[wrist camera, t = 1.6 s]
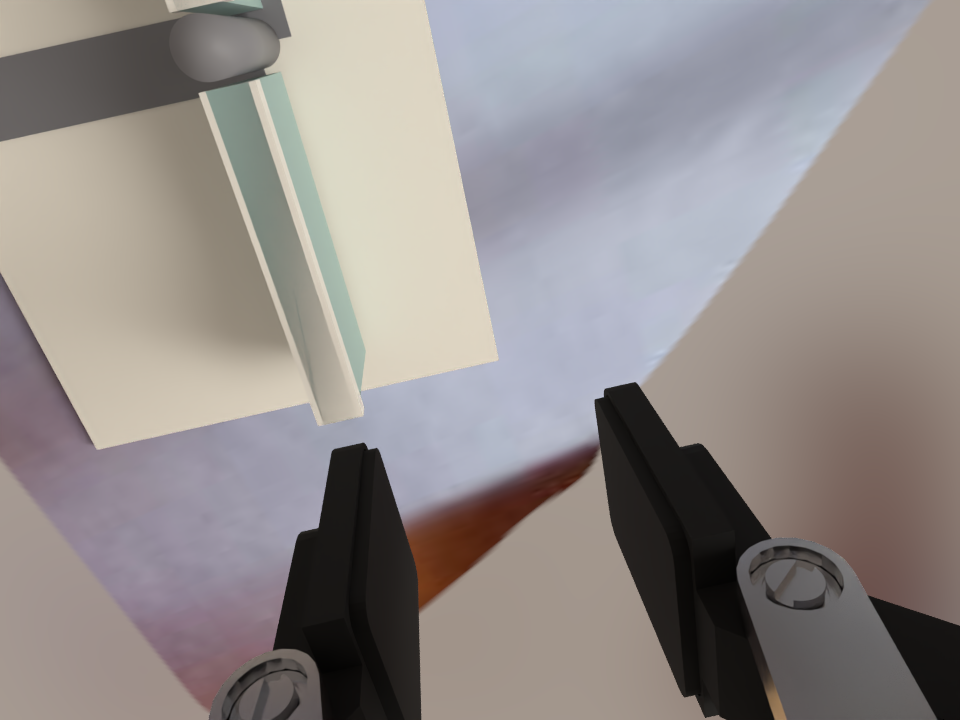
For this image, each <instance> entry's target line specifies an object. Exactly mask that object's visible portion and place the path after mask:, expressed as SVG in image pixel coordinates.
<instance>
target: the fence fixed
mask: <svg viewBox="0 0 960 720" xmlns="http://www.w3.org/2000/svg"><path fill="white" fill-rule="evenodd" d="M165 2H166V5H167V7H168V10H169V13H180V12H191V14H187V15H185V16H183V17H181V18H180V19H179V20H178V21H177V22H176V23H175V24H174V26H173V28H172V30H171V32H170V37H169V47H170V51H171V55H172V57H173V59H174V61H175V63H176V64H177V66H178V67H179V68H180V69H181V71H182V72H184V73H185V74H186V75H187V76H189V77H191V78H192V79H195V80H197V81H201V82H215V81H219V80H222V79H226V78H230V77H234V76H238V75H242V74H246V73H250V72H254V71H258V70H262V69H265V68H268V67H270V66H272V65H273V64H274V63H275V62H276V60H277V59H278V56H279V53H280V41H279V39H278V36H277V34H276V32H275V31H274V29H273V28H272V27H271V26H270V25H269V24H267V23H266V22H264V21H262V20H260V19H255V18H246V17H235V16H231V15H236V14H240V13H245V12H249V11H254V10H258V9H263V6H262V3H261V0H165Z"/></svg>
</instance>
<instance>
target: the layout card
mask: <svg viewBox="0 0 960 720" xmlns="http://www.w3.org/2000/svg"><path fill="white" fill-rule="evenodd" d="M261 3H262V6H263V9H258V10H254V11H249V12H245V13H240V14H236V15H231V16H235V17H246V18H255V19H260V20H262V21H264V22H266V23H267V24H269V25H270V26H271V27H272V28H273V29H274V31H275V32H276V34H277V36H278V39H279V41H280V53H279V56H278V59H277V60H276V62H275V63H274V64H273V65H272V66H270V67H268V68H265V69H262V70H258V71H254V72H250V73H246V74H242V75H238V76H234V77H230V78H226V79H222V80H219V81H215V82H201V81H197V80H195V79H192V78H191V77H189V76H187V75H186V74H185V73H184V72H182V71H181V69H180V68H179V67H178V66H177V64H176V63H175V61H174V59H173V57H172V55H171V51H170V47H169V37H170V32H171V30H172V28H173V26H174V24H175V23H176V22H177V21H178V20H179V19H180V18H181V17H183V16H185V15H187V14H191V12H180V13H169V10H168V7H167V5H166V2H165V0H0V273H1V274H2V276H3V278H4V280H5V282H6V284H7V285H8V287H9V289H10V291H11V293H12V295H13V296H14V298H15V300H16V302H17V304H18V306H19V307H20V309H21V311H22V313H23V315H24V317H25V318H26V320H27V322H28V324H29V326H30V328H31V330H32V331H33V333H34V335H35V337H36V339H37V341H38V342H39V344H40V346H41V348H42V350H43V352H44V353H45V355H46V357H47V359H48V361H49V363H50V364H51V366H52V368H53V370H54V372H55V374H56V375H57V377H58V379H59V381H60V383H61V385H62V386H63V388H64V390H65V392H66V394H67V396H68V398H69V399H70V401H71V403H72V405H73V407H74V409H75V410H76V412H77V414H78V416H79V418H80V420H81V421H82V423H83V425H84V427H85V429H86V431H87V432H88V434H89V436H90V438H91V440H92V442H93V443H94V445H95V447H96V449H97V450H99V449H103V448H108V447H112V446H117V445H121V444H126V443H130V442H135V441H139V440H144V439H148V438H153V437H157V436H162V435H166V434H171V433H175V432H180V431H184V430H189V429H193V428H197V427H202V426H206V425H211V424H215V423H220V422H224V421H229V420H233V419H238V418H242V417H247V416H251V415H256V414H260V413H265V412H269V411H274V410H278V409H283V408H287V407H292V406H296V405H301V404H305V403H310V402H309V399H308V396H307V394H306V391H305V388H304V385H303V383H302V380H301V377H300V374H299V371H298V369H297V366H296V363H295V360H294V358H293V355H292V352H291V349H290V346H289V344H288V341H287V338H286V335H285V333H284V330H283V327H282V324H281V321H280V319H279V316H278V313H277V310H276V308H275V305H274V302H273V299H272V296H271V294H270V291H269V288H268V285H267V282H266V280H265V277H264V274H263V271H262V269H261V266H260V263H259V260H258V257H257V255H256V252H255V249H254V246H253V244H252V241H251V238H250V235H249V232H248V230H247V227H246V224H245V221H244V219H243V216H242V213H241V210H240V207H239V205H238V202H237V199H236V196H235V194H234V191H233V188H232V185H231V182H230V180H229V177H228V174H227V171H226V169H225V166H224V163H223V160H222V157H221V155H220V152H219V149H218V146H217V144H216V141H215V138H214V135H213V132H212V130H211V127H210V124H209V121H208V119H207V116H206V113H205V110H204V107H203V105H202V102H201V99H200V96H199V94H198V93H200V92H204V91H208V90H212V89H216V88H219V87H222V86H226V85H229V84H233V83H236V82H239V81H243V80H246V79H250V78H255V77H259V76H264V75H269V74H273V73H278V72H281V74H282V77H283V80H284V84H285V87H286V90H287V94H288V97H289V100H290V103H291V107H292V110H293V113H294V117H295V120H296V123H297V126H298V130H299V133H300V136H301V140H302V143H303V146H304V149H305V153H306V156H307V159H308V163H309V166H310V169H311V172H312V176H313V179H314V182H315V186H316V189H317V192H318V195H319V199H320V202H321V205H322V209H323V212H324V215H325V218H326V222H327V225H328V228H329V232H330V235H331V238H332V241H333V245H334V248H335V251H336V255H337V258H338V261H339V264H340V268H341V271H342V274H343V278H344V281H345V284H346V287H347V291H348V294H349V297H350V301H351V304H352V307H353V310H354V314H355V317H356V320H357V324H358V327H359V330H360V333H361V337H362V340H363V343H364V347H365V350H366V353H365V361H364V369H363V378H362V386H361V391H363V390H368V389H372V388H377V387H381V386H386V385H390V384H395V383H399V382H404V381H408V380H413V379H417V378H422V377H426V376H431V375H435V374H440V373H444V372H449V371H453V370H458V369H462V368H467V367H471V366H476V365H480V364H485V363H489V362H494V361H498V360H499V358H498V354H497V349H496V344H495V339H494V334H493V330H492V325H491V320H490V315H489V310H488V305H487V301H486V296H485V291H484V286H483V281H482V276H481V272H480V267H479V262H478V257H477V252H476V247H475V243H474V238H473V233H472V228H471V223H470V218H469V214H468V209H467V204H466V199H465V194H464V189H463V185H462V180H461V175H460V170H459V165H458V160H457V156H456V151H455V146H454V141H453V136H452V131H451V127H450V122H449V117H448V112H447V107H446V102H445V98H444V93H443V88H442V83H441V78H440V73H439V69H438V64H437V59H436V54H435V49H434V44H433V40H432V35H431V30H430V25H429V20H428V15H427V11H426V6H425V1H424V0H261Z"/></svg>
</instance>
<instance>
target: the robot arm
mask: <svg viewBox="0 0 960 720" xmlns="http://www.w3.org/2000/svg"><path fill="white" fill-rule="evenodd" d="M595 411H596V418H597V426H598V433H599V440H600V447H601V454H602V461H603V468H604V475H605V482H606V489H607V497H608V504H609V511H610V518H611V523H612V526H613V530H614V533H615V536H616V539H617V541H618V544H619V546H620V549H621V551H622V553H623V556H624V558H625V560H626V563H627V565H628V568H629V570H630V572H631V575H632V577H633V579H634V582H635V584H636V587H637V589H638V592H639V594H640V596H641V599H642V601H643V603H644V606H645V608H646V611H647V613H648V615H649V618H650V620H651V622H652V625H653V627H654V630H655V632H656V634H657V637H658V639H659V642H660V644H661V646H662V649H663V651H664V654H665V656H666V658H667V661H668V663H669V666H670V668H671V670H672V672H673V675H674V678H675V680H676V682H677V685H678V687H679V689H680V691H681V693H682V695H683V696H684V697H688V696H693V695H695V696H696V698H697V701H698V703H699V705H700V707H701V710H702V712H703V714H704V716H705V718H706V717H711V716H716V715H719V716H720V717H722V718H724V719H726V720H960V626H959V625H956V624H953V623H949V622H947V621H944V620H941V619H938V618H935V617H932V616H929V615H926V614H922V613H919V612H916V611H913V610H910V609H907V608H904V607H901V606H898V605H895V604H892V603H889V602H886V601H883V600H880V599H877V598H874V597H871V596H868V595H867V594H866V592H865V590H864V589H863V587H862V585H861V583H860V582H859V580H858V578H857V576H856V574H855V573H854V571H853V570H852V568H851V567H850V566H849V565H848V564H847V562H846V561H845V560H844V559H843V558H842V557H840V556H839V555H838V554H836V553H835V552H833V551H832V550H831V549H829V548H827V547H824V546H822V545H820V544H817V543H815V542H812V541H807V540H803V539H798V538H775V539H771V537H770V536H769V535H768V533H767V532H766V531H765V529H764V528H763V526H762V525H761V524H760V522H759V521H758V519H757V518H756V517H755V515H754V514H753V513H752V511H751V510H750V508H749V507H748V506H747V504H746V503H745V501H744V500H743V499H742V497H741V496H740V495H739V493H738V492H737V490H736V489H735V488H734V486H733V485H732V483H731V482H730V481H729V480H728V478H727V477H726V475H725V474H724V473H723V471H722V470H721V468H720V467H719V466H718V464H717V463H716V461H715V460H714V459H713V457H712V456H711V455H710V453H709V452H708V450H707V449H706V448H705V447H704V446H703V445H702V444H699V443H697V444H693V445H688V446H684V447H679V446H678V444H677V443H676V441H675V440H674V438H673V437H672V435H671V434H670V432H669V431H668V430H667V428H666V426H665V425H664V423H663V422H662V420H661V419H660V417H659V416H658V414H657V413H656V411H655V410H654V408H653V407H652V405H651V404H650V402H649V401H648V399H647V398H646V396H645V394H644V393H643V391H642V390H641V388H640V387H639V385H638V384H637V383H636V382H633V383H629V384H624V385H620V386H615V387H611V388H606V389H605V390H604V397H603V398H599V399H595ZM209 720H421V691H420V650H419V607H418V578H417V571H416V566H415V562H414V558H413V555H412V552H411V549H410V546H409V543H408V539H407V536H406V533H405V530H404V527H403V524H402V520H401V517H400V514H399V511H398V508H397V505H396V502H395V498H394V495H393V492H392V489H391V486H390V483H389V480H388V476H387V473H386V470H385V467H384V464H383V461H382V458H381V455H380V452H379V450H378V449H377V448H375V449H370V450H368V448H367V446H366V444H365V443H360V444H355V445H351V446H346V447H342V448H337V449H334V450H333V451H332V454H331V459H330V465H329V471H328V477H327V482H326V488H325V494H324V500H323V505H322V511H321V517H320V523H319V528H317V529H312V530H308V531H303V532H301V533H300V534H299V535H298V537H297V540H296V544H295V549H294V553H293V558H292V563H291V568H290V572H289V577H288V582H287V586H286V591H285V596H284V600H283V605H282V610H281V614H280V619H279V624H278V628H277V633H276V638H275V643H274V647H273V651H270V652H266V653H264V654H262V655H260V656H257V657H255V658H253V659H251V660H249V661H248V662H247V663H245V664H244V665H243V666H241V667H240V668H239V669H237V670H236V671H235V672H234V673H233V674H232V675H231V676H230V677H229V678H228V679H227V680H226V681H225V683H224V684H223V685H222V686H221V688H220V690H219V691H218V693H217V695H216V697H215V698H214V700H213V703H212V707H211V711H210V715H209Z"/></svg>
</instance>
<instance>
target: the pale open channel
mask: <svg viewBox="0 0 960 720" xmlns="http://www.w3.org/2000/svg"><path fill="white" fill-rule="evenodd" d="M198 94H199V96H200V99H201V102H202V105H203V107H204V110H205V113H206V116H207V119H208V121H209V124H210V127H211V130H212V132H213V135H214V138H215V141H216V144H217V146H218V149H219V152H220V155H221V157H222V160H223V163H224V166H225V169H226V171H227V174H228V177H229V180H230V182H231V185H232V188H233V191H234V194H235V196H236V199H237V202H238V205H239V207H240V210H241V213H242V216H243V219H244V221H245V224H246V227H247V230H248V232H249V235H250V238H251V241H252V244H253V246H254V249H255V252H256V255H257V257H258V260H259V263H260V266H261V269H262V271H263V274H264V277H265V280H266V282H267V285H268V288H269V291H270V294H271V296H272V299H273V302H274V305H275V308H276V310H277V313H278V316H279V319H280V321H281V324H282V327H283V330H284V333H285V335H286V338H287V341H288V344H289V346H290V349H291V352H292V355H293V358H294V360H295V363H296V366H297V369H298V371H299V374H300V377H301V380H302V383H303V385H304V388H305V391H306V394H307V396H308V399H309V402H310V405H311V408H312V410H313V413H314V416H315V419H316V421H317V424H318V426H321V425H326V424H330V423H335V422H339V421H344V420H348V419H353V418H357V417H362V416H363V414H364V405H363V402H362V399H361V396H360V394H361V386H362V378H363V369H364V361H365V353H366V350H365V347H364V343H363V340H362V337H361V333H360V330H359V327H358V324H357V320H356V317H355V314H354V310H353V307H352V304H351V301H350V297H349V294H348V291H347V287H346V284H345V281H344V278H343V274H342V271H341V268H340V264H339V261H338V258H337V255H336V251H335V248H334V245H333V241H332V238H331V235H330V232H329V228H328V225H327V222H326V218H325V215H324V212H323V209H322V205H321V202H320V199H319V195H318V192H317V189H316V186H315V182H314V179H313V176H312V172H311V169H310V166H309V163H308V159H307V156H306V153H305V149H304V146H303V143H302V140H301V136H300V133H299V130H298V126H297V123H296V120H295V117H294V113H293V110H292V107H291V103H290V100H289V97H288V94H287V90H286V87H285V84H284V80H283V77H282V74H281V72H278V73H273V74H269V75H264V76H259V77H255V78H250V79H246V80H243V81H239V82H236V83H233V84H229V85H226V86H222V87H219V88H216V89H212V90H208V91H204V92H200V93H198Z"/></svg>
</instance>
